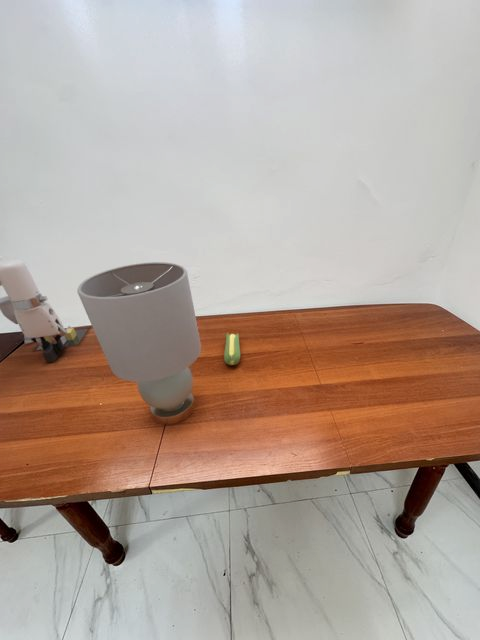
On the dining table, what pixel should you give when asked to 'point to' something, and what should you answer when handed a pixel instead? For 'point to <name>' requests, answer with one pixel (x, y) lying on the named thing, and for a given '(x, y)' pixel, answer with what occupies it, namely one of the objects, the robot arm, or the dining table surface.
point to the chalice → (9, 311)
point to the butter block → (48, 338)
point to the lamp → (147, 332)
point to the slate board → (75, 341)
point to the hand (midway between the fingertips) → (55, 352)
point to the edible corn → (232, 349)
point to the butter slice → (70, 334)
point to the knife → (50, 352)
